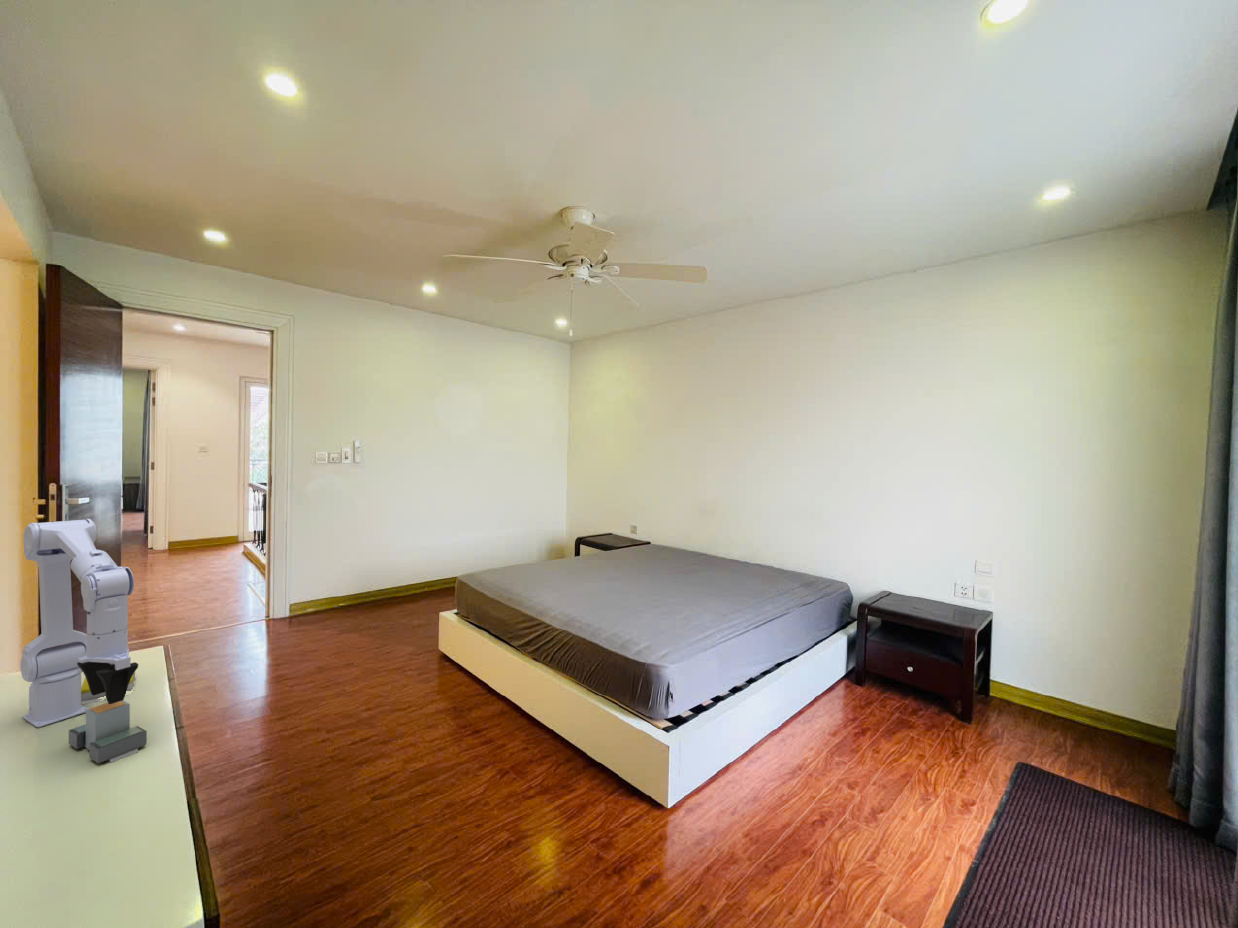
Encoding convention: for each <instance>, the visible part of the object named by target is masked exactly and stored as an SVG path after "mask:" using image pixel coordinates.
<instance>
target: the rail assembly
mask: <svg viewBox="0 0 1238 928" xmlns="http://www.w3.org/2000/svg"><path fill="white" fill-rule="evenodd" d="M147 739H148V738H147V730H146V729H143V728H142V727H140V726H138V725H136V726H133V727H130V729H127V730H125V731H122V732H119V733H116V734H114V735H111V736H108V737H105V738H103V739H100V740H97V741H94V742H92V743H89V749H88V750H89V751H88V756H89V758H90V759H91V760H93V761H94V762H95V763H96V764H100V763H102V762H105V761H107V762H108V763H109V764H111V763H114V762H116V761H118V760H121V759H124V758H126V757H129V756H131V755H134V754H136V753H138V752H139V748H142V747H144V746H146V745H147V744H148V743H147ZM68 744H69V745H70V746H71V747H73V748H74V749H76V750H77V749H81V748H83V747H85V748H86V723H85V724H82V725H80V726H77V727H73V728H71V729H68Z"/></svg>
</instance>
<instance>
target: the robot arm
mask: <svg viewBox="0 0 1238 928" xmlns="http://www.w3.org/2000/svg"><path fill="white" fill-rule="evenodd" d="M97 531H98V529H97V526H96V523H95V522H94V521H93V520H92V519H90V518H84V519H74V520H62V521H61V520H60V521H46V522H29V524H28V525H26V527H25V529H24V532H23V552H24V553H23V554H24V556H25V559H26V561H27V560H28V561H34V562H36V565H37V567H38V582H39V584H38V585H39V605H40V607H39V609H40V628H41V629H40V630H41V633H40V635H38V636H37V637H35V638H34V639H33V640H31V641H30V642H29V643H27V644H26V645H25V646H24V647H23V648H22V652H21V659H20V674H21V677H22V679H23V680H24V681H25V682H27V683H30V684H29V685H30V686H29V687H28V713H25V714H23V715H22V719H24V720H25V721H27V722H29V724H31V725H33V726H34V727H36V728H41V727H44V726H48V725H50V724H54V723H57V722H61V721H63V720H66V719H70V718H72V717H76V716H78V715H81V714H86V710H87V709H89V708H88V707H86V706H85V705H81V687H82V673H83V675H84V677H86V679H87V682H88V685H89V689H90V692H91V694H92V695H93V696H94V695H97V694H100V693H104V692H105V694H106V699H107V700H106V703H108V704H113V703H116V702H119V701H122V700H123V701H124V699H125V697H126V696H125V694H126V691H127V688H128V684H129V682H130V679H131V677H132V675H133V674H134V672H135V673H136V671H137V670H138V668H139V663H137V662H132V661H131V656H130V647H129V645H128V644H129V641H128V640H129V637H128V635H129V631H128V630H129V627H128V625H129V616H128V614H129V613H128V612H129V606H128V605H129V597H128V596H130V595H131V594H132V593H133V592H134V588H135V579H134V574H133V572H132V570H131V569H130V567H128V566H118V565H117V563H115V561H114V560H113V559H112V557H111V556H110V555H109V553H107V552H106V551H104V550H101V549H97V547H96V546H95V544H94V543H95V542H96V541H97V535H98V534H97V533H98V532H97ZM71 571H72V572H73V573H74V575H75V576H76V578H77V579H78V581H79V582H80V591H81V597H82V601H83V610H84V611H86V633H85V632H82V631H79V630H75V629H74V622H73V600H72V599H73V598H72V578H71V577H72V576H71ZM131 662H132V663H131Z"/></svg>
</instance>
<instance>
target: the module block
mask: <svg viewBox="0 0 1238 928" xmlns="http://www.w3.org/2000/svg"><path fill="white" fill-rule="evenodd" d="M130 705H131V704H130V703H129V702H127V701H124V700H122V701H119V702H116V703H113V704H108V702H105V703H102V704H99V705H96V706H93V707H90V708H88V709H87V710H86V712H85V724H86V747H85V748H86V749H87V750H89V743H92V742H94V741H97V740H100V739H103V738H105V737H108V736H111V735H114V734H116V733H119V732H122V731H125V730H127V729H130V728H131V727H130V725H131V724H130V722H131V721H130V717H131V715H130V714H131V710H130V709H131V708H130Z"/></svg>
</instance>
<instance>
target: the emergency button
mask: <svg viewBox="0 0 1238 928" xmlns="http://www.w3.org/2000/svg"><path fill="white" fill-rule="evenodd" d="M135 674H136V671H135V672H134V674H133V675H132V677H131V679H130V682H129V684H128V688H127V691H131V690H132V689H133V687H134V688H135V684H134V681H135V682H136V679H135ZM84 677H85V676H84ZM104 696H106V694H105V692H104V693H100V694H97V695H94V696H93V695H92V694H91V692H90V689H89V685H88V682H87V679H86V677H85V678H84V680H83V683H82V684H81V705H83V706H85V705H89V704H94V703H99V702H101V701H100V700H102V699H98V698H100V697H104ZM98 701H99V702H98ZM93 702H94V703H93Z"/></svg>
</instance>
